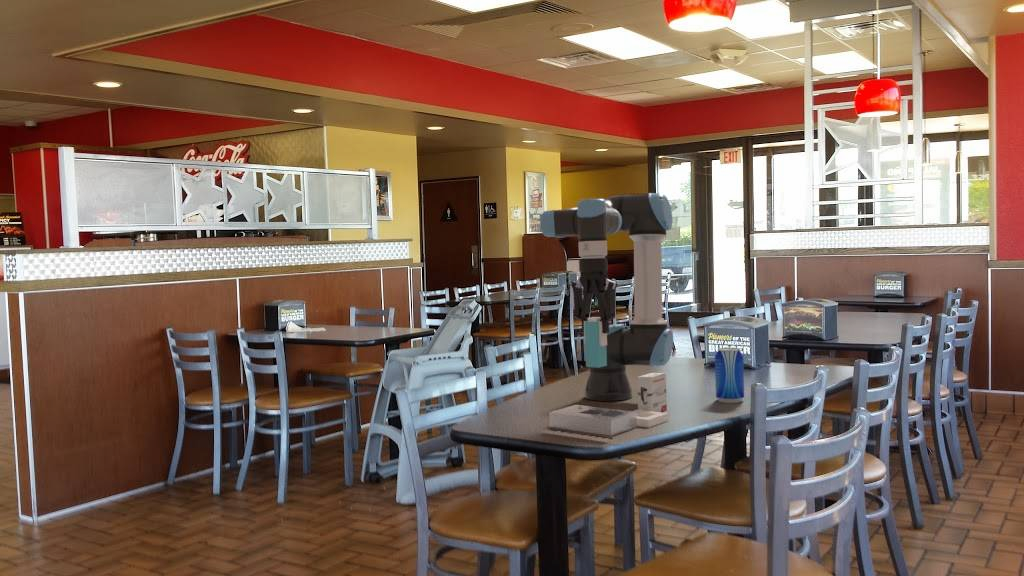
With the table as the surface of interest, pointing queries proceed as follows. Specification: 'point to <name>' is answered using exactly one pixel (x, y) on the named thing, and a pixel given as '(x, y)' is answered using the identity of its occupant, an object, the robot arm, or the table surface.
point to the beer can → (729, 375)
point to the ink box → (652, 392)
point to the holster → (650, 418)
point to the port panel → (593, 420)
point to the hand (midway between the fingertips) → (595, 345)
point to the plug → (594, 344)
